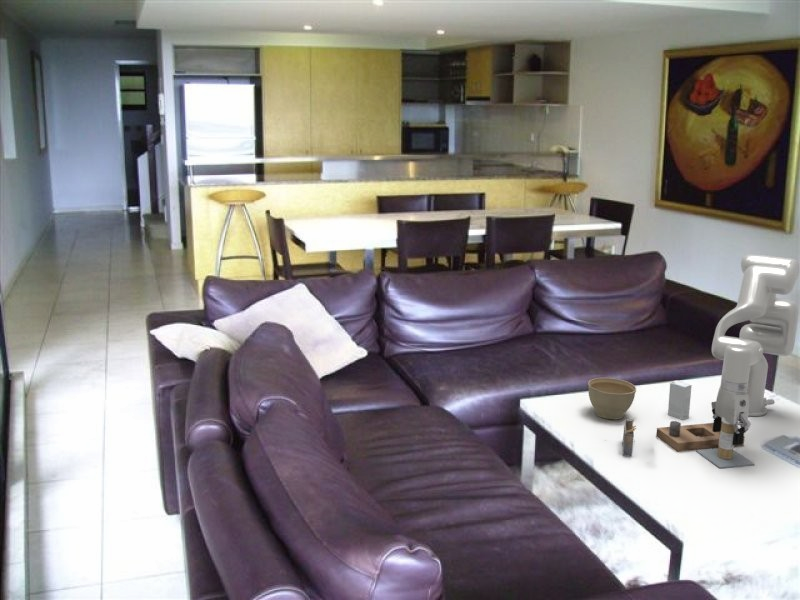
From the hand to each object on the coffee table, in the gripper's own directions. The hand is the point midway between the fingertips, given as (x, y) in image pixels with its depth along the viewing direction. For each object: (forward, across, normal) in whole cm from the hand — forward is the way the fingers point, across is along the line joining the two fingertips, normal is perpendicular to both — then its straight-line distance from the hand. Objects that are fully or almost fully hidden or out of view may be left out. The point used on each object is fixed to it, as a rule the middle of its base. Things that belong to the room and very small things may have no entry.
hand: (727, 437), depth 242 cm
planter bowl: (+7, +39, +18) cm, 44 cm away
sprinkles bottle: (+6, 0, 0) cm, 7 cm away
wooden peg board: (+7, +13, 0) cm, 15 cm away
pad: (+7, 0, 0) cm, 7 cm away
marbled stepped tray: (+7, +13, +26) cm, 30 cm away
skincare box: (+7, +33, -5) cm, 34 cm away
